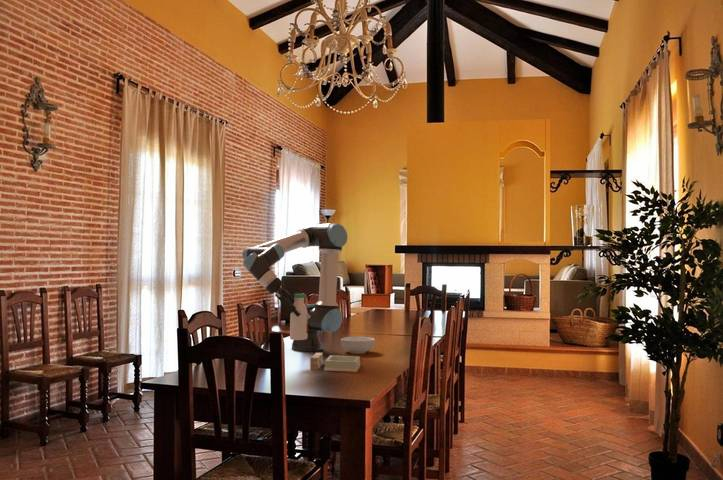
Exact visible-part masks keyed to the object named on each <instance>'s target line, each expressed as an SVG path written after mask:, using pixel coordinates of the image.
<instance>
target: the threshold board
mask: <svg viewBox="0 0 723 480" xmlns="http://www.w3.org/2000/svg"><path fill="white" fill-rule="evenodd" d="M322 365H324V352H315V354H313V355H312V356H311V357H310V369H309V370H310V371H318V370H319V369H320V368H321V366H322Z"/></svg>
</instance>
